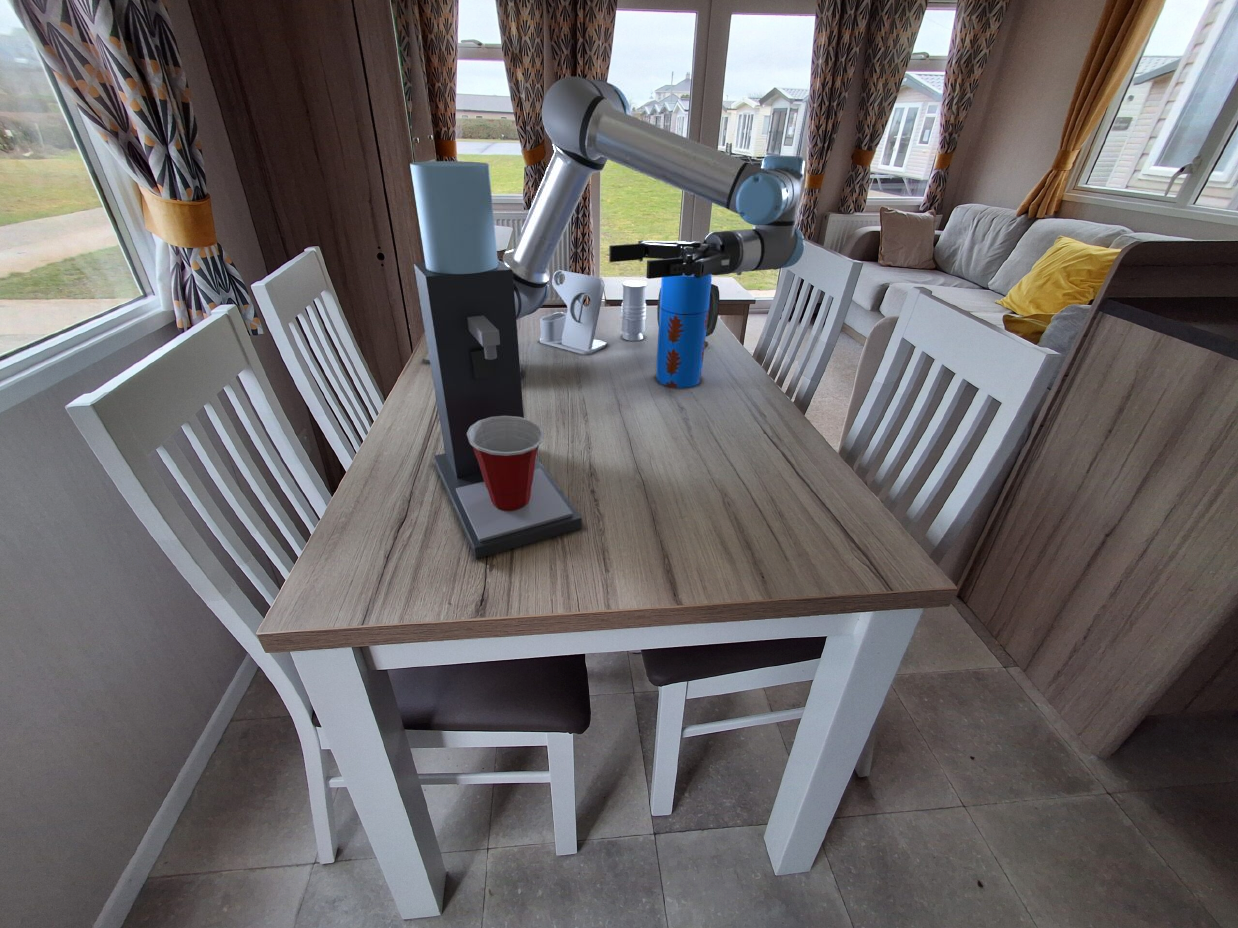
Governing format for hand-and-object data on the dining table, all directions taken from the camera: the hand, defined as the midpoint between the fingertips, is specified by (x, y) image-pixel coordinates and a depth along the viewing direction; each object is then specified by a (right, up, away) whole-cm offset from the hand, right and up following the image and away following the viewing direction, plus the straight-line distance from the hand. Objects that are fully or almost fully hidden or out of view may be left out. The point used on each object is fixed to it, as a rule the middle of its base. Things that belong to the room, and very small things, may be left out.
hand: (627, 261), depth 95 cm
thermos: (+13, -14, +39) cm, 43 cm away
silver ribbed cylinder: (+2, +2, +65) cm, 65 cm away
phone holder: (-14, -1, +59) cm, 61 cm away
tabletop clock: (+16, -2, +59) cm, 61 cm away
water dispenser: (-20, -39, -4) cm, 44 cm away
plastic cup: (-18, -40, -9) cm, 45 cm away
